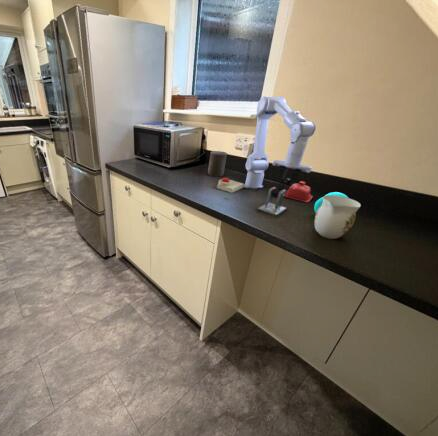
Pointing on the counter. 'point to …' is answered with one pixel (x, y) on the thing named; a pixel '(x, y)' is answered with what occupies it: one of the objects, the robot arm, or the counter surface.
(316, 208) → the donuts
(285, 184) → the lever
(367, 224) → the counter surface
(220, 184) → the button box
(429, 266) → the counter surface
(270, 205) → the bracket
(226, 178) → the button
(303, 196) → the butter dish
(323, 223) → the pitcher
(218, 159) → the pillar candle
